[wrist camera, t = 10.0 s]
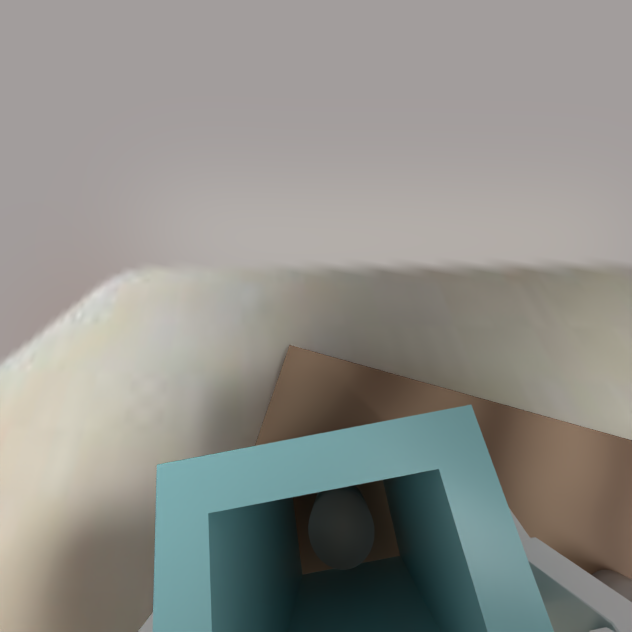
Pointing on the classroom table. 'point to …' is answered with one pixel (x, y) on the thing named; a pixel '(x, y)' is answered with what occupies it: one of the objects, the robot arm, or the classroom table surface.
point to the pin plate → (504, 449)
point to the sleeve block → (367, 578)
